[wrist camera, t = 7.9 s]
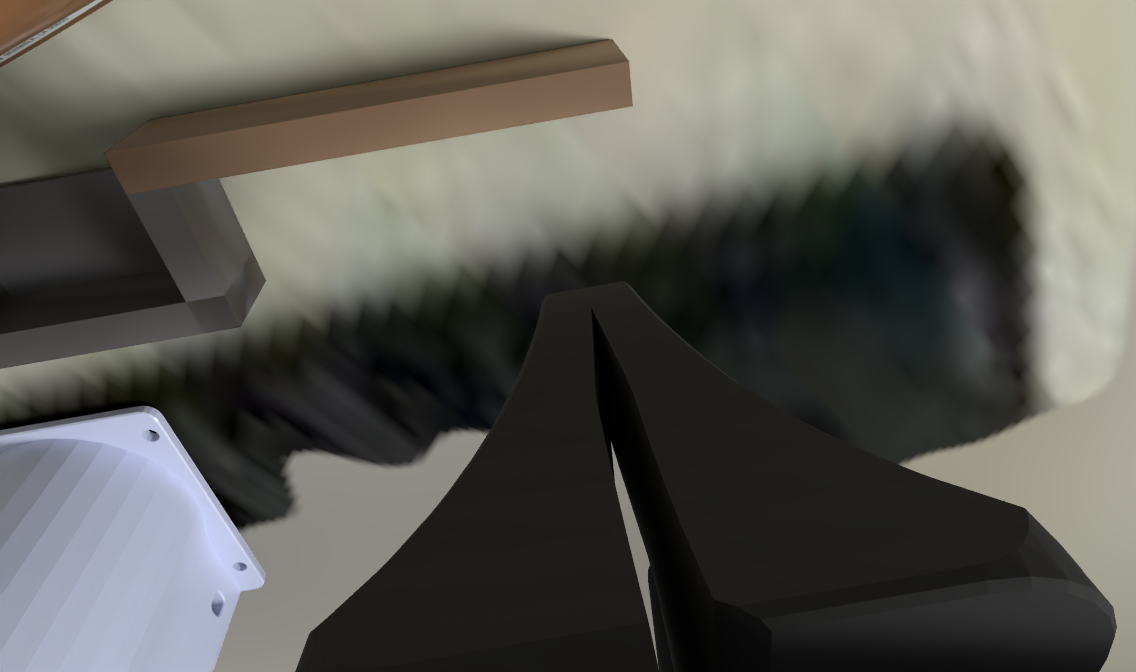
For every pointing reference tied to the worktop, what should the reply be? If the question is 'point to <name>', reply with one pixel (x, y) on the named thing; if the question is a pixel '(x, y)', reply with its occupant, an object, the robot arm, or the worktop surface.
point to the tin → (37, 22)
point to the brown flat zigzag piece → (203, 212)
